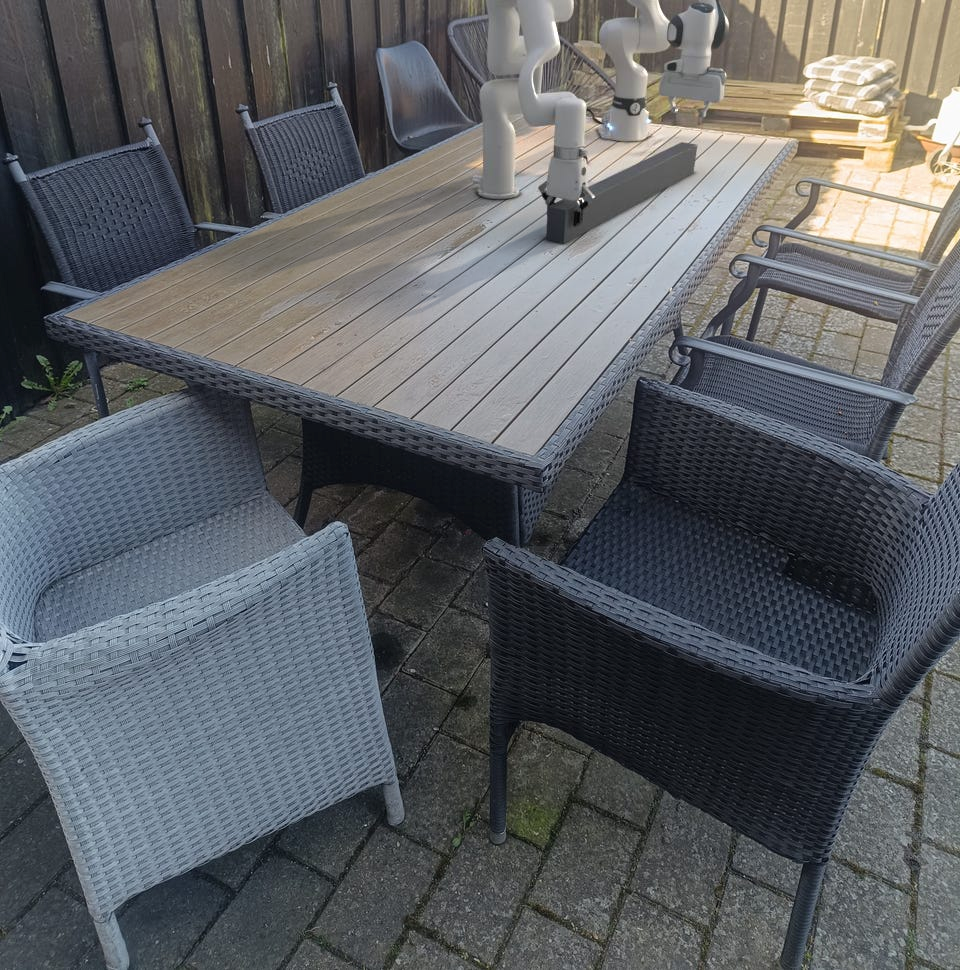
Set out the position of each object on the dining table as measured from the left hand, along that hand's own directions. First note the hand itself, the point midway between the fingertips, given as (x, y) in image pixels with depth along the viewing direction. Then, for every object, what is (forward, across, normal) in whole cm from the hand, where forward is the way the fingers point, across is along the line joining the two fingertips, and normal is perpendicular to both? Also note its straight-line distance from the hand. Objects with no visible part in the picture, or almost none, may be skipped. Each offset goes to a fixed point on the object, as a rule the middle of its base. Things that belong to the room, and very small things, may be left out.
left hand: (564, 221), depth 222 cm
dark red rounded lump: (+4, +35, -66) cm, 75 cm away
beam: (+4, 0, -36) cm, 37 cm away
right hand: (-14, 0, -73) cm, 74 cm away
